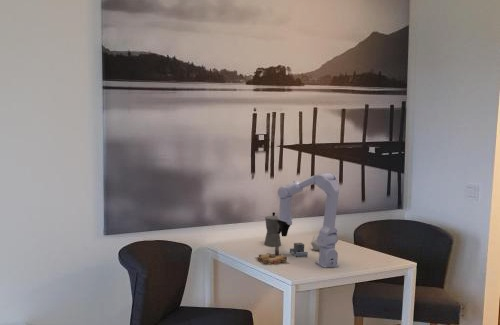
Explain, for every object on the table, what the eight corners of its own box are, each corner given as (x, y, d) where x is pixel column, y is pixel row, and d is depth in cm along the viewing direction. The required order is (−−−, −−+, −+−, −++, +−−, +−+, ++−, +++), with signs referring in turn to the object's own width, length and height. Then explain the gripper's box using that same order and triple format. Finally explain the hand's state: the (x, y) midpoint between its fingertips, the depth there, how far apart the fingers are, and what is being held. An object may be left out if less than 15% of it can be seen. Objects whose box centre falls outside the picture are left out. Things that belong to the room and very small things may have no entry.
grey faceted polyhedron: (322, 254, 297) (332, 238, 299) (308, 245, 298) (318, 229, 301) (320, 256, 305) (329, 240, 307) (306, 247, 306) (315, 232, 308)
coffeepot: (259, 243, 315) (260, 210, 313) (273, 241, 320) (274, 209, 318) (273, 249, 302) (274, 215, 300) (288, 247, 306) (289, 214, 305)
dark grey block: (303, 254, 290) (304, 244, 289) (296, 254, 289) (297, 244, 288) (300, 252, 294) (301, 242, 293) (293, 252, 292) (294, 243, 292)
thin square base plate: (289, 263, 274) (289, 263, 274) (264, 265, 270) (264, 264, 270) (279, 256, 287) (279, 255, 287) (254, 257, 283) (254, 257, 283)
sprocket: (292, 259, 281) (292, 248, 280) (277, 265, 269) (277, 254, 268) (267, 254, 288) (267, 243, 288) (251, 260, 276) (252, 249, 276)
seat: (307, 256, 288) (307, 252, 288) (296, 257, 286) (296, 252, 286) (300, 252, 297) (300, 247, 297) (289, 252, 295) (289, 248, 295)
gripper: (298, 212, 285) (297, 238, 286) (286, 207, 298) (285, 232, 299) (284, 212, 282) (283, 239, 284) (274, 207, 296) (273, 233, 297)
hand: (284, 236), depth 291 cm, fingers closed
